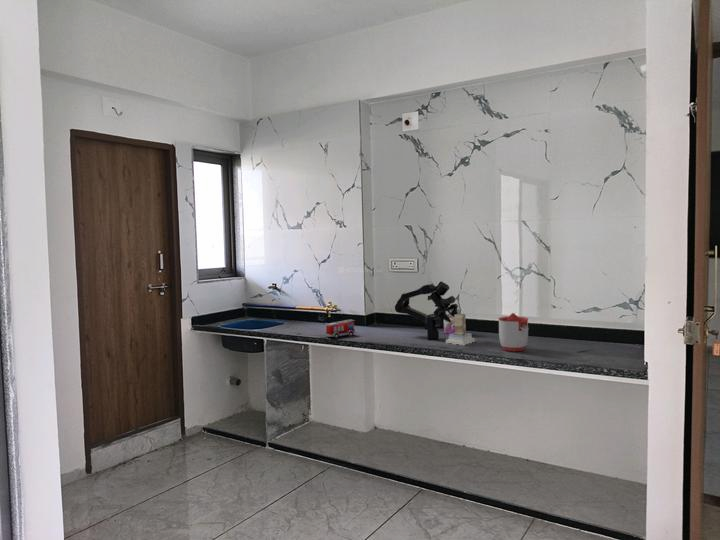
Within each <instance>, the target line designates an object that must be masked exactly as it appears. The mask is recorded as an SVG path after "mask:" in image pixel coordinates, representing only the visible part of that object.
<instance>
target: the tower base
mask: <svg viewBox="0 0 720 540" xmlns="http://www.w3.org/2000/svg"><path fill="white" fill-rule="evenodd" d="M472 335H473V334H472V333H467V332H466V335H463V336H460V335H455V333H453V334H448V338H447V339H445V344H448V343H452V344H451V345H456V344H459V345H458V346H466V344H467V345H469V343H470V344H473V343H475V341H476V339H475V338H474V337H473V336H472ZM472 342H473V343H472Z"/></svg>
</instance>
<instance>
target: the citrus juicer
mask: <svg viewBox="0 0 720 540" xmlns="http://www.w3.org/2000/svg"><path fill="white" fill-rule="evenodd" d="M498 338H499V342H500V345H501V348H502V350H503V351H506V352H507V351H509V352H512V351H513V353H515V352H521V351H525V350H526V347H527V344H528V338H529V318H528V317H524V316H517V315H516V314H515V313H514V312H512V313H510V315H509V316H501V317H498Z"/></svg>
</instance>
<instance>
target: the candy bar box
mask: <svg viewBox="0 0 720 540" xmlns="http://www.w3.org/2000/svg"><path fill="white" fill-rule="evenodd" d="M457 313H458V314H462V313H461V308H457ZM446 314H447V316H448V317H449V319H450V320H451V322H448V321H446V320H444V319H443V334H445V333H446V334H445V335H449V334H453V333H455V318H454V317H453V316H452V315H450V313H448V311H446Z"/></svg>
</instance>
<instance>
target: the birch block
mask: <svg viewBox="0 0 720 540" xmlns="http://www.w3.org/2000/svg"><path fill="white" fill-rule="evenodd" d="M454 318H455V335H460V336H463V335H466V333H467V332H466V329H467V328H466V327H467V326H466V314H465V313H461V314H455V315H454Z"/></svg>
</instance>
